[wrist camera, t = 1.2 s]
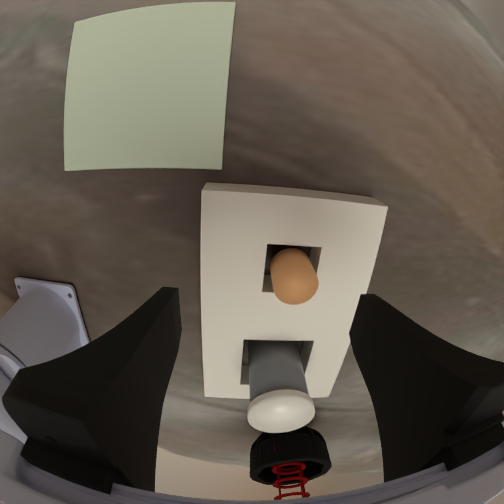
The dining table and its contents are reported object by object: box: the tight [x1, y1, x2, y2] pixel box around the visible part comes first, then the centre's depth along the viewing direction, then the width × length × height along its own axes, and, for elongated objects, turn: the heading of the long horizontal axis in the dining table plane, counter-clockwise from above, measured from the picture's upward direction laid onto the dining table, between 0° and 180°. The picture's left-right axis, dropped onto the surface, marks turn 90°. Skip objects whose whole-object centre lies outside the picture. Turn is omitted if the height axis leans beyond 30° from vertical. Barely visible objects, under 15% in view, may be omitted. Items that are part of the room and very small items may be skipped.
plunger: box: [270, 248, 319, 305], centre depth 19 cm, size 3×3×2 cm
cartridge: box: [247, 340, 315, 433], centre depth 22 cm, size 5×5×8 cm
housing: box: [201, 182, 388, 399], centre depth 22 cm, size 19×12×2 cm, turn 176°
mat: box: [64, 2, 236, 171], centre depth 16 cm, size 12×12×1 cm
